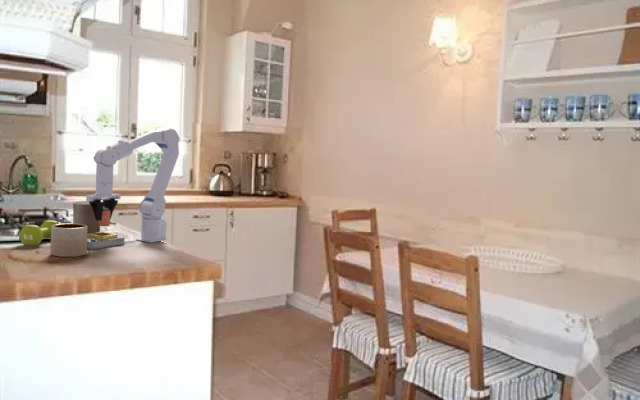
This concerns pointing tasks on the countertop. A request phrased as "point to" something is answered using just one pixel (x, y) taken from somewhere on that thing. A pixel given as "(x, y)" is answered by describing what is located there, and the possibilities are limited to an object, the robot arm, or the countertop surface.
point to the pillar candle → (85, 216)
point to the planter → (68, 240)
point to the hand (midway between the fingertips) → (103, 219)
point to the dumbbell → (36, 233)
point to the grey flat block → (103, 240)
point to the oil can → (105, 218)
